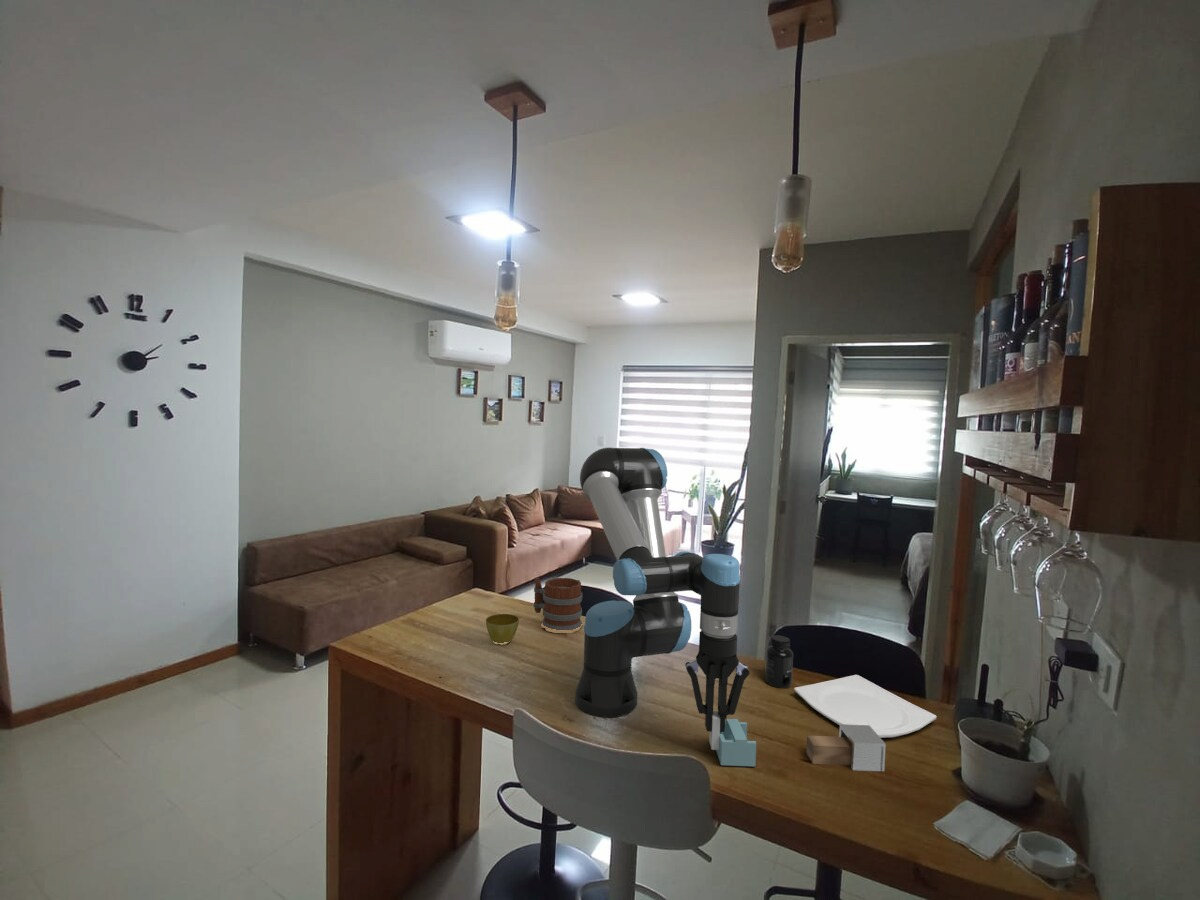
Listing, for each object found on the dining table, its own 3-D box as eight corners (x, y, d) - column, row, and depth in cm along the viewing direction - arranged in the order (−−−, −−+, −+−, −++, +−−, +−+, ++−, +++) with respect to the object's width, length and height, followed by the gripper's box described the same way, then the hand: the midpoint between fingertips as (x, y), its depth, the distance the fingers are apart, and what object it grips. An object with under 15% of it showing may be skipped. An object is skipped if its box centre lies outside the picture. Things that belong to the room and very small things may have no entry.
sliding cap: (721, 765, 106) (722, 739, 105) (713, 742, 113) (714, 718, 113) (755, 766, 105) (756, 740, 105) (745, 743, 113) (746, 719, 113)
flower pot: (502, 633, 170) (503, 611, 170) (525, 641, 164) (526, 618, 164) (478, 642, 162) (478, 619, 161) (501, 651, 156) (501, 627, 156)
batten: (812, 764, 108) (813, 745, 107) (806, 754, 111) (807, 735, 111) (872, 767, 107) (873, 747, 107) (864, 756, 111) (865, 737, 111)
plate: (869, 751, 113) (869, 739, 113) (786, 697, 135) (786, 686, 135) (945, 729, 123) (945, 717, 122) (856, 681, 145) (856, 672, 145)
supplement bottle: (793, 690, 138) (795, 645, 138) (766, 687, 139) (768, 642, 139) (789, 678, 145) (791, 635, 144) (763, 675, 146) (765, 632, 146)
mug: (565, 638, 168) (566, 591, 167) (520, 624, 178) (521, 579, 178) (591, 625, 179) (592, 581, 178) (547, 612, 190) (548, 571, 189)
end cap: (852, 770, 106) (854, 742, 106) (838, 750, 112) (839, 724, 112) (884, 771, 106) (885, 743, 105) (867, 751, 112) (869, 725, 112)
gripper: (688, 637, 105) (684, 755, 105) (755, 640, 104) (750, 758, 105) (683, 624, 112) (680, 734, 113) (746, 626, 112) (741, 736, 112)
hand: (714, 745), depth 109 cm, fingers closed
